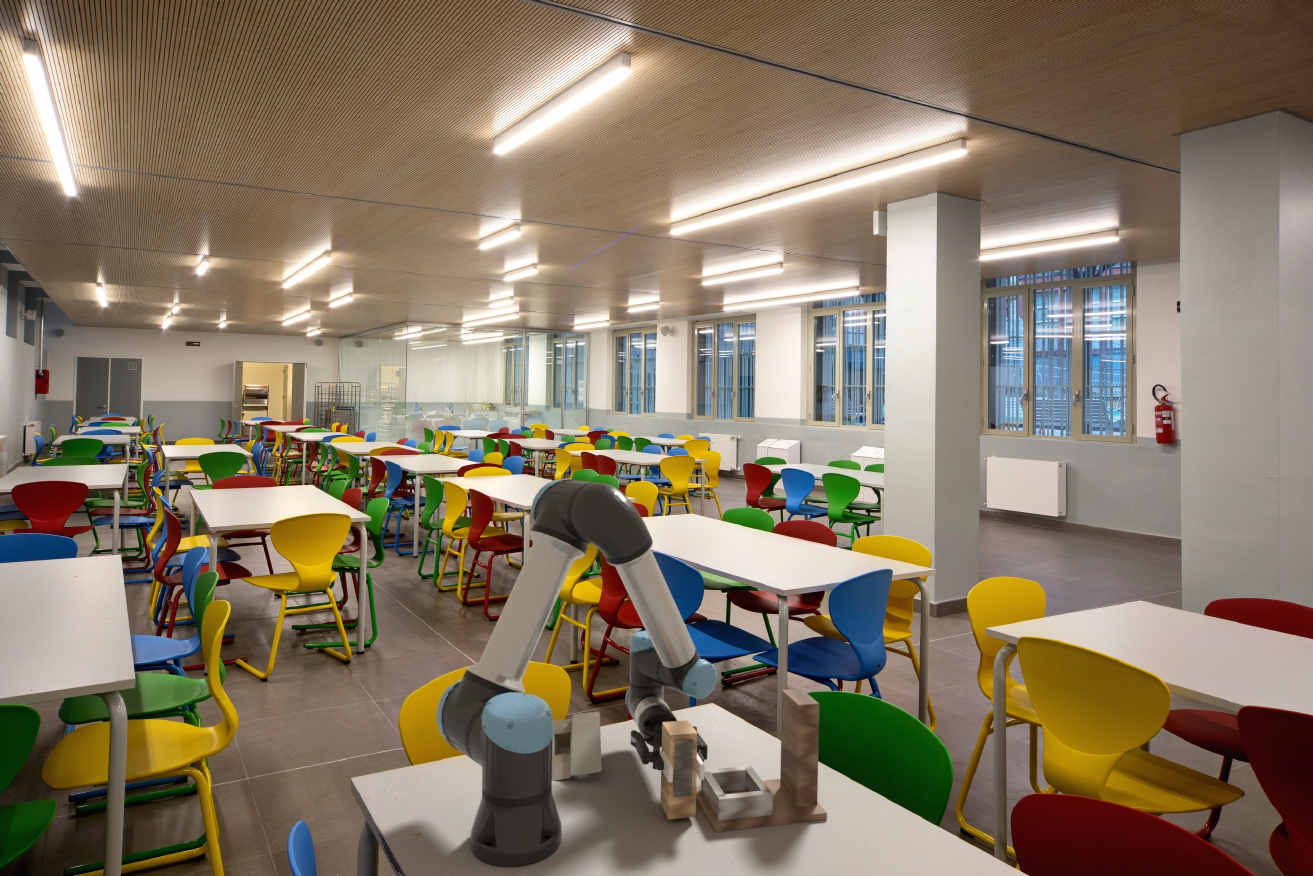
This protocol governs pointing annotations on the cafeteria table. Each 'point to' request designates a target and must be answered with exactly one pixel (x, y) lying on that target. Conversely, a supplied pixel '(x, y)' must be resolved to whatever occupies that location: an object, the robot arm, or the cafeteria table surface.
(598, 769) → the wall
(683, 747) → the block
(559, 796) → the cafeteria table surface
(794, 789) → the wooden peg insertion stand
